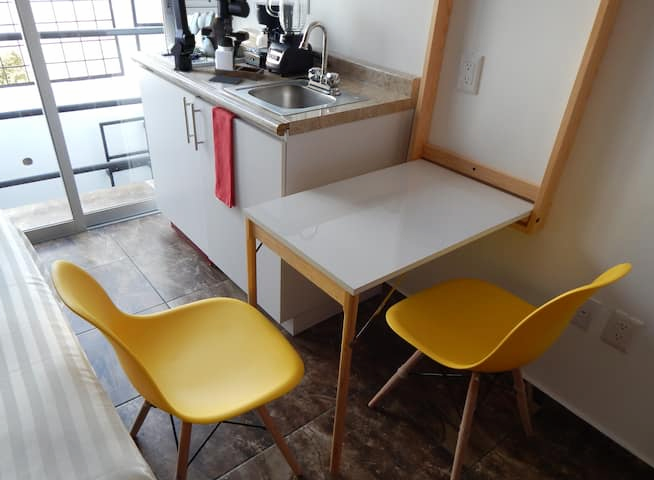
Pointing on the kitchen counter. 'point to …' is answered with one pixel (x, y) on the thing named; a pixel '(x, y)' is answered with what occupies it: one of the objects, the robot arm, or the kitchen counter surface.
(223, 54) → the medicine bottle
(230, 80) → the mat
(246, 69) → the holder
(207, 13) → the plush elephant
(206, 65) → the kitchen counter surface
